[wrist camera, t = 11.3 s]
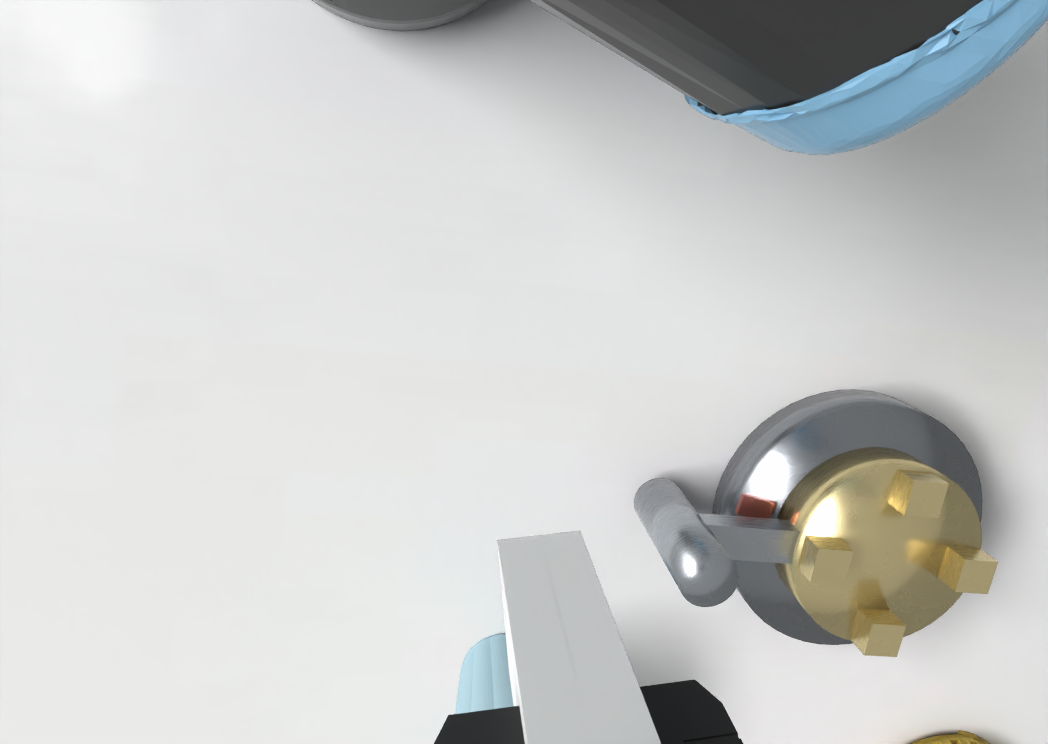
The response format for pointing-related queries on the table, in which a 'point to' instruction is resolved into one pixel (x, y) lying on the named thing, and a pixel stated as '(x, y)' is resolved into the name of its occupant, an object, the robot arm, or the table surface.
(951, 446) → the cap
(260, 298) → the table surface
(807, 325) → the table surface
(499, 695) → the cup
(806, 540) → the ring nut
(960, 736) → the gold gear disc
